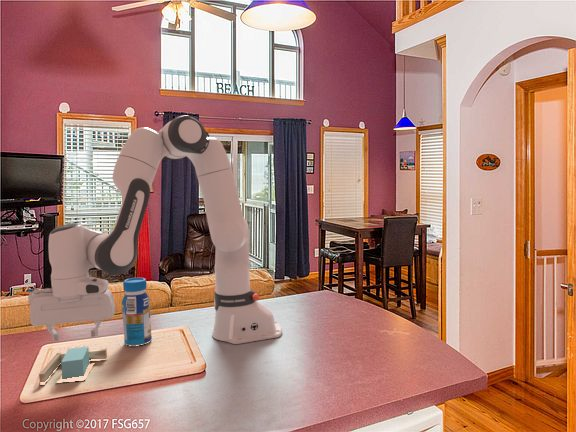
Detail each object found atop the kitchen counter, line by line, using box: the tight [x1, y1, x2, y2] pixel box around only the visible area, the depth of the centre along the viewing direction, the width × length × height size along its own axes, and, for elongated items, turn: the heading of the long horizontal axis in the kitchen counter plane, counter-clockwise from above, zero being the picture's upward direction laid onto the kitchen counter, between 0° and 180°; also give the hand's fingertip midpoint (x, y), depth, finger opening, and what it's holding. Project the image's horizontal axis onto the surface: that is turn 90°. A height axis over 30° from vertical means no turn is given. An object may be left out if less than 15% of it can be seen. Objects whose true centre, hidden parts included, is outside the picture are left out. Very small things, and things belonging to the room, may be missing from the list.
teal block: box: [60, 346, 90, 379], centre depth 117 cm, size 9×5×5 cm, turn 16°
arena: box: [38, 348, 108, 383], centre depth 118 cm, size 13×14×3 cm
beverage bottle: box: [121, 277, 153, 346], centre depth 137 cm, size 8×8×20 cm
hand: (75, 337), depth 116 cm, fingers open, 8 cm apart
